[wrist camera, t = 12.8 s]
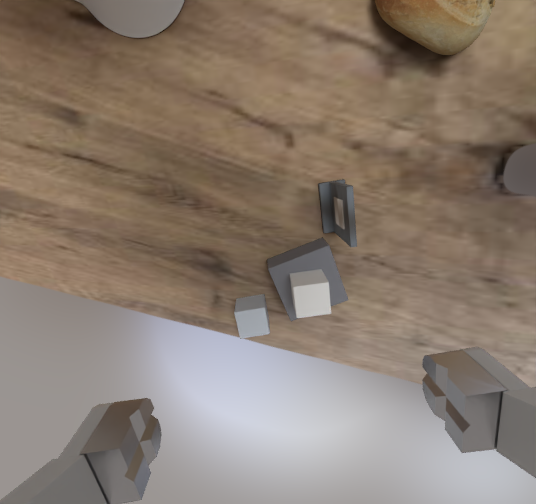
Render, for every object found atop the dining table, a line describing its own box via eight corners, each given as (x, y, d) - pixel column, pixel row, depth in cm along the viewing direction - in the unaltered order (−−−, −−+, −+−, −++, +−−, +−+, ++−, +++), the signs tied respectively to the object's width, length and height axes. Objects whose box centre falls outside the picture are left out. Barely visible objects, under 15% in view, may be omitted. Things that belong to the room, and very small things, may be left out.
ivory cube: (289, 273, 44) (293, 286, 40) (321, 269, 44) (328, 282, 40) (293, 302, 46) (296, 318, 41) (323, 297, 46) (331, 313, 41)
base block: (267, 258, 49) (268, 269, 44) (322, 237, 48) (329, 245, 43) (288, 306, 52) (290, 321, 47) (340, 287, 51) (348, 299, 46)
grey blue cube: (236, 298, 51) (234, 312, 46) (264, 293, 51) (264, 307, 46) (241, 322, 52) (240, 338, 47) (268, 318, 52) (269, 333, 47)
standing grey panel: (318, 183, 45) (333, 188, 36) (343, 179, 45) (365, 183, 36) (323, 232, 47) (339, 249, 38) (347, 228, 47) (368, 244, 38)
